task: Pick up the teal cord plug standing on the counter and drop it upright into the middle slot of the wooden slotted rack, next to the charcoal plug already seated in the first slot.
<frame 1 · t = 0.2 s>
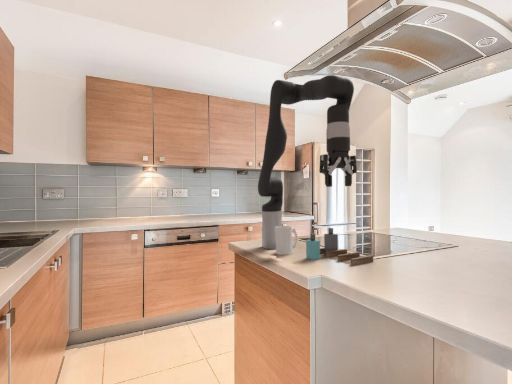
hand: (338, 186, 94), 28 cm above the countertop, tool pointing down, fingers open, 8 cm apart
wooden slotted rack: (342, 260, 107), on the countertop
charcoal plug: (331, 254, 112), point 1 cm above the countertop, touching wooden slotted rack
teal plug: (313, 261, 106), on the countertop
mug: (287, 256, 117), on the countertop
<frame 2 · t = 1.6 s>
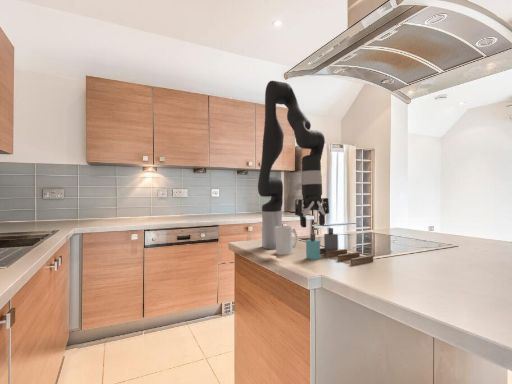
hand: (312, 226, 106), 13 cm above the countertop, tool pointing down, fingers open, 8 cm apart
nothing on the countertop moved.
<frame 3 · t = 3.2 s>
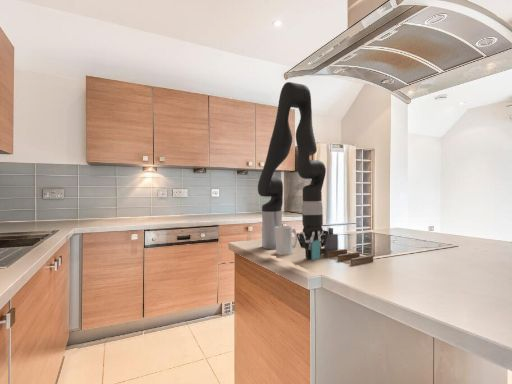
hand: (313, 258, 106), 1 cm above the countertop, tool pointing down, fingers closed on teal plug, 3 cm apart
teal plug: (313, 261, 106), on the countertop, touching gripper
everything else where it was.
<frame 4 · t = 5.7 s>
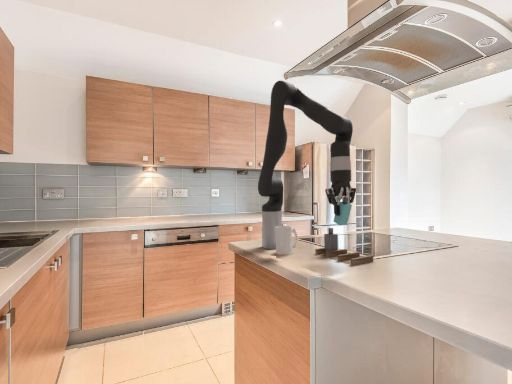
hand: (341, 214, 106), 17 cm above the countertop, tool pointing down, fingers closed on teal plug, 3 cm apart
teal plug: (340, 223, 107), point 14 cm above the countertop, tilted 18°, touching gripper
everything else where it was.
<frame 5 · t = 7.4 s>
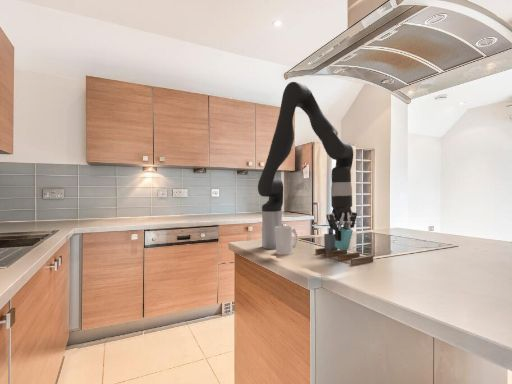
hand: (342, 239, 106), 8 cm above the countertop, tool pointing down, fingers closed on teal plug, 3 cm apart
teal plug: (341, 247, 107), point 5 cm above the countertop, tilted 18°, touching gripper
everything else where it was.
when the fingers open (4 cm above the countertop, at t = 8.5 s): teal plug stays where it is, resting on wooden slotted rack.
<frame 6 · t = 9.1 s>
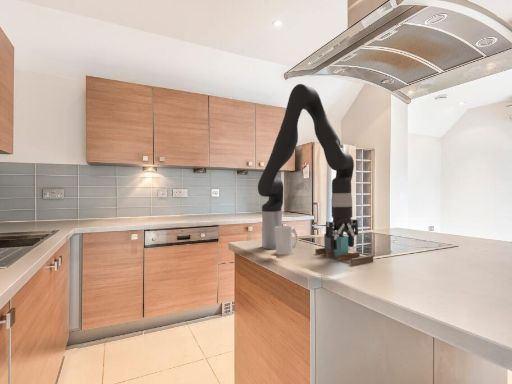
hand: (342, 248, 107), 5 cm above the countertop, tool pointing down, fingers open, 8 cm apart
teal plug: (341, 257, 107), point 1 cm above the countertop, touching wooden slotted rack
everything else where it was.
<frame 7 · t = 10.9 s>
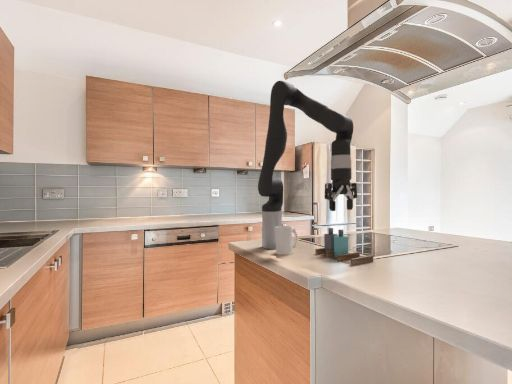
hand: (341, 210, 107), 19 cm above the countertop, tool pointing down, fingers open, 8 cm apart
nothing on the countertop moved.
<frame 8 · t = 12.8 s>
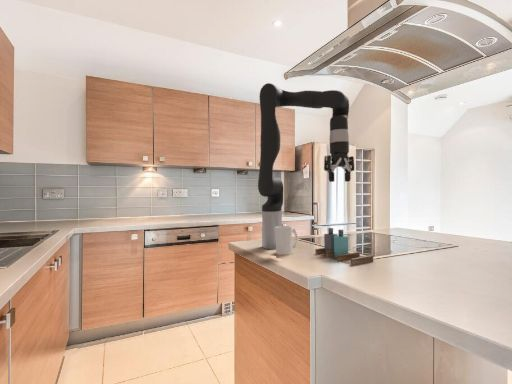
hand: (339, 181, 115), 30 cm above the countertop, tool pointing down, fingers open, 8 cm apart
nothing on the countertop moved.
at the end: teal plug 0.7 cm off-centre on the wooden slotted rack, point 1.2 cm above the wooden slotted rack's base; teal plug tilted 0°; charcoal plug inside the target area on the wooden slotted rack (0.0 cm from its centre), point 1.2 cm above the wooden slotted rack's base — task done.
